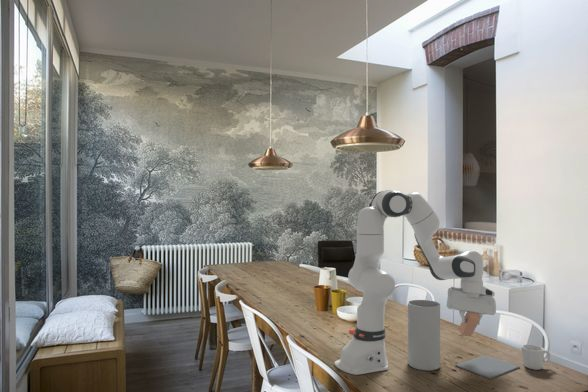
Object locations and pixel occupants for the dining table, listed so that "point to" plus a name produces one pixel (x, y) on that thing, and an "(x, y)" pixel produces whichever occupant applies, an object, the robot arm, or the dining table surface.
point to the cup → (534, 356)
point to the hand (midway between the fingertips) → (470, 323)
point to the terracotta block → (469, 324)
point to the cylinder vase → (424, 334)
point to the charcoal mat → (487, 366)
